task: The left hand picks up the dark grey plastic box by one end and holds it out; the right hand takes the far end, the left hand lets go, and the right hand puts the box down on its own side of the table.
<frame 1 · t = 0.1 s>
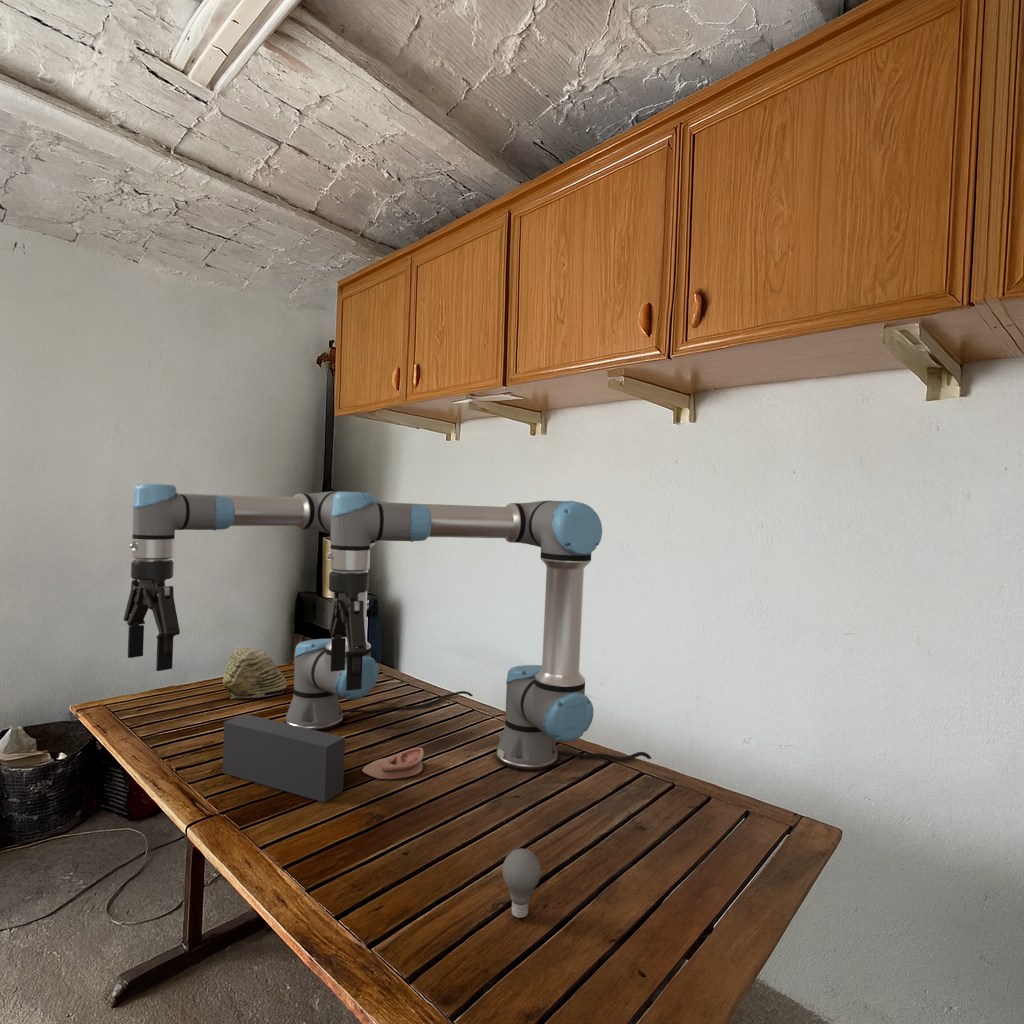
left hand: (149, 663, 129), 28 cm above the table, tool pointing down, fingers open, 13 cm apart
right hand: (345, 679, 124), 28 cm above the table, tool pointing down, fingers open, 13 cm apart
box: (281, 781, 140), on the table
fossil: (254, 694, 198), on the table
light bulb: (519, 916, 98), on the table
anatomical model: (393, 770, 148), on the table
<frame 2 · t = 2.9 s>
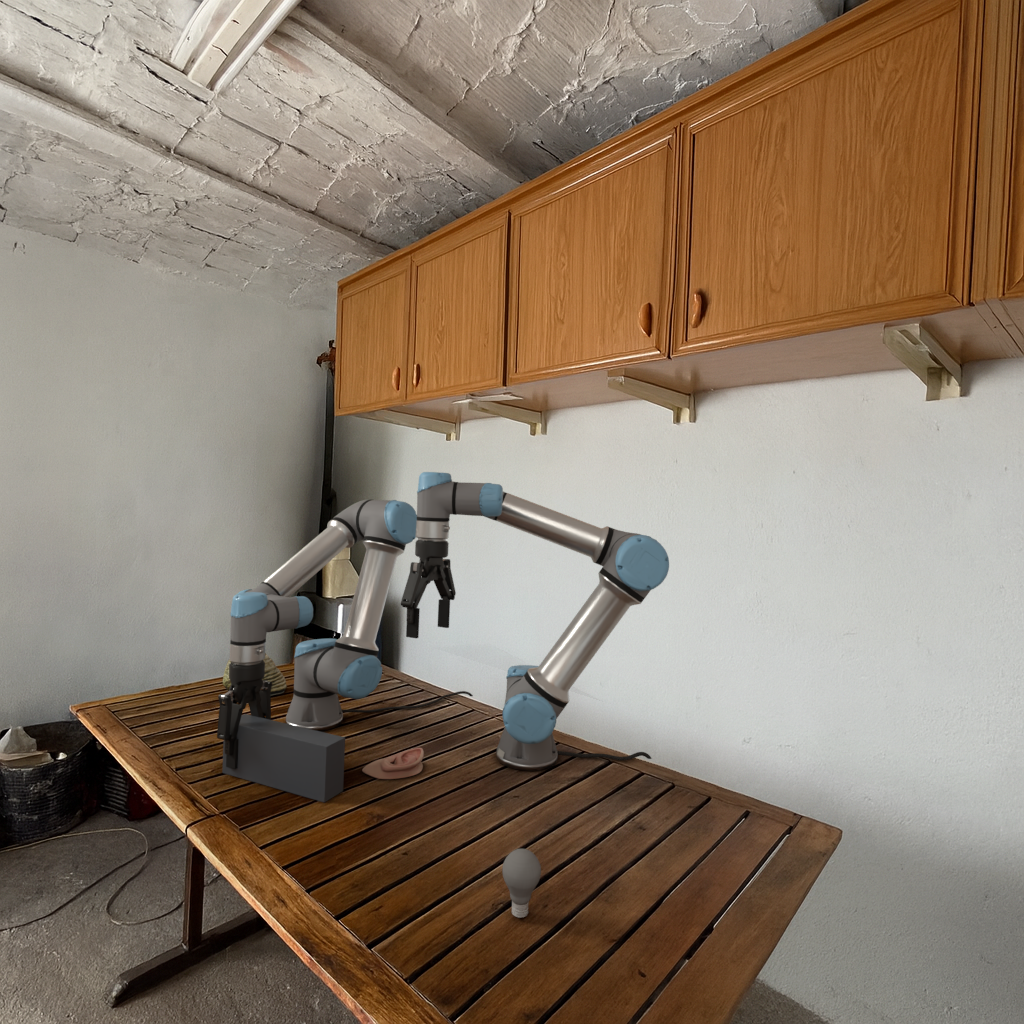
left hand: (243, 761, 144), 2 cm above the table, tool pointing down, fingers closed on box, 6 cm apart
right hand: (428, 632, 145), 33 cm above the table, tool pointing down, fingers open, 13 cm apart
box: (281, 781, 140), on the table, touching left hand
everything else where it was.
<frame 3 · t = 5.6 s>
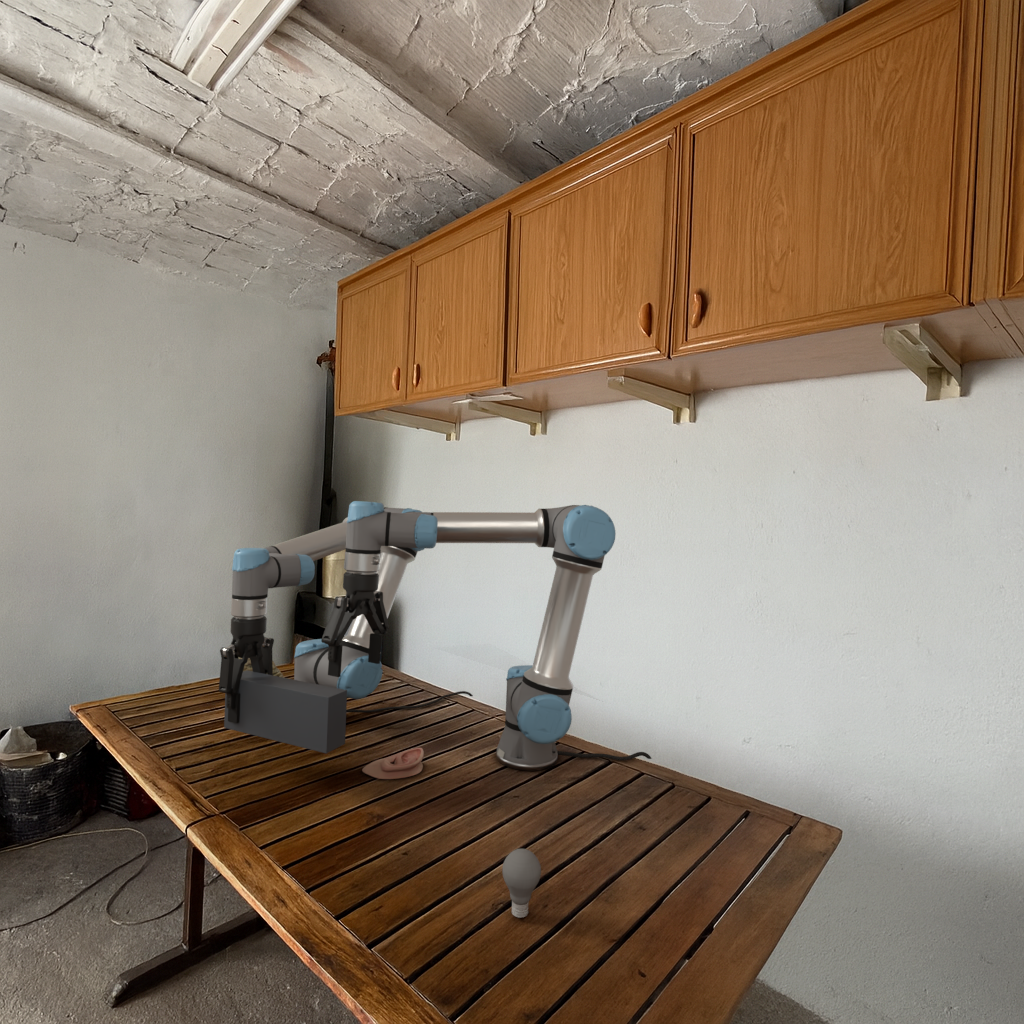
left hand: (245, 717, 144), 12 cm above the table, tool pointing down, fingers closed on box, 6 cm apart
right hand: (354, 669, 138), 26 cm above the table, tool pointing down, fingers open, 13 cm apart
box: (283, 735, 140), point 10 cm above the table, touching left hand
everything else where it was.
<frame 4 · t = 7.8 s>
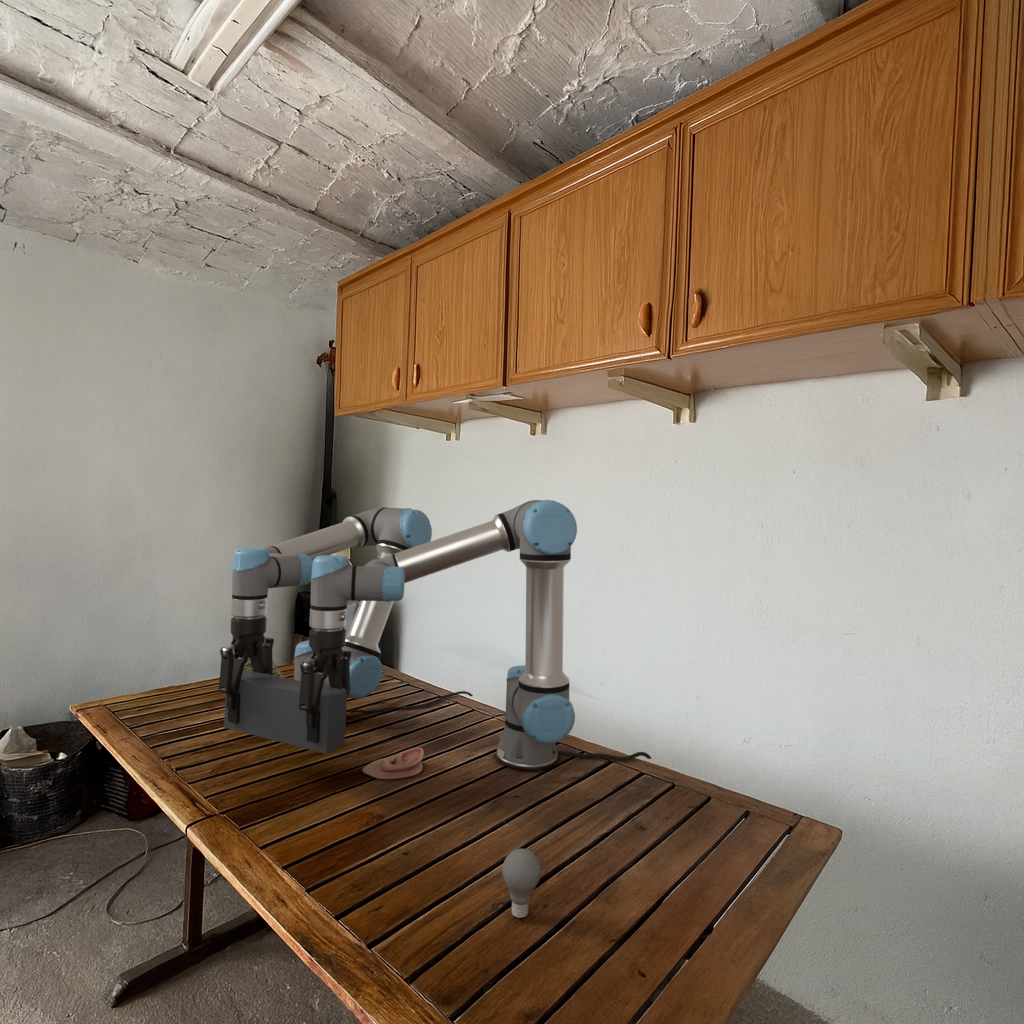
left hand: (245, 717, 144), 12 cm above the table, tool pointing down, fingers closed on box, 6 cm apart
right hand: (323, 735, 135), 12 cm above the table, tool pointing down, fingers closed on box, 6 cm apart
box: (283, 735, 140), point 10 cm above the table, touching left hand, right hand
everything else where it was.
when the left hand's fingers open (12 cm above the table, at t = 8.6 s): box stays where it is, held by the right hand.
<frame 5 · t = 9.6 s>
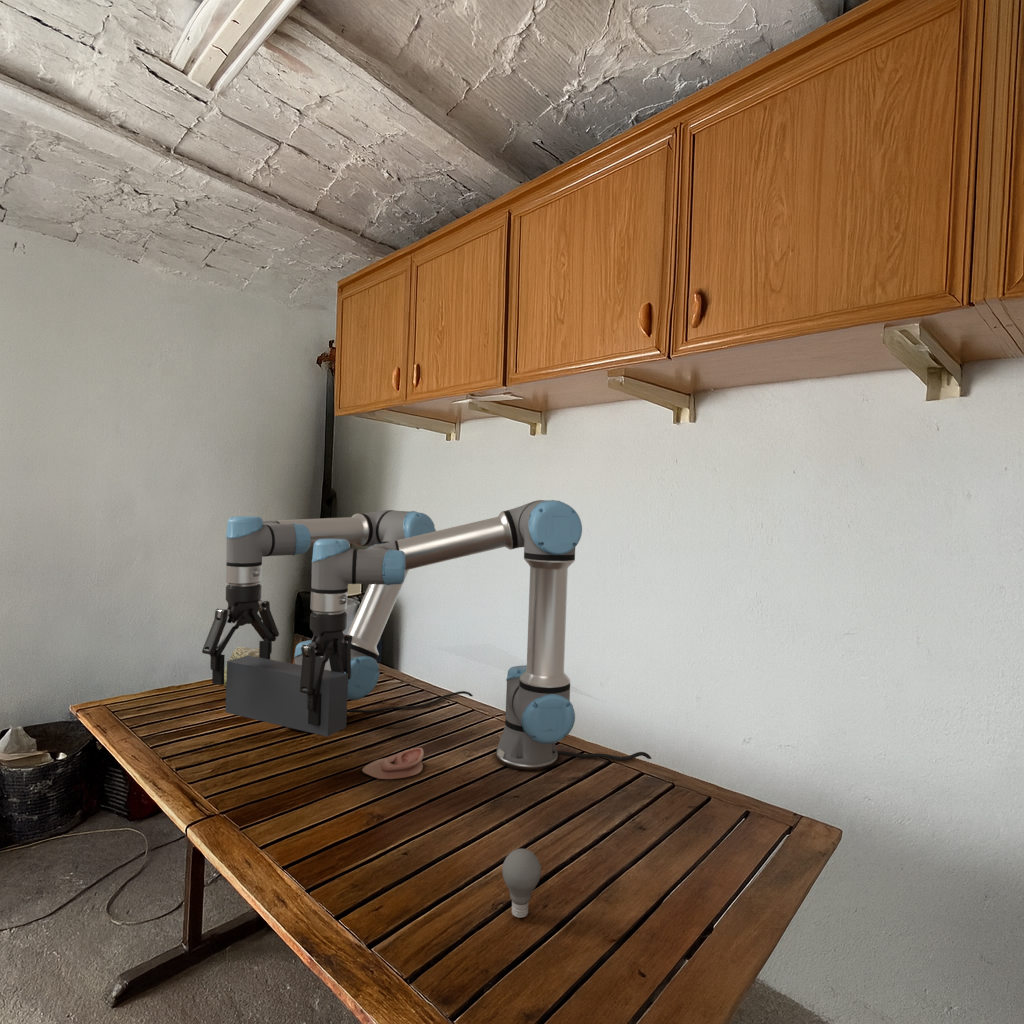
left hand: (242, 676, 145), 21 cm above the table, tool pointing down, fingers open, 13 cm apart
right hand: (325, 719, 135), 16 cm above the table, tool pointing down, fingers closed on box, 6 cm apart
box: (284, 719, 140), point 14 cm above the table, touching right hand
everything else where it was.
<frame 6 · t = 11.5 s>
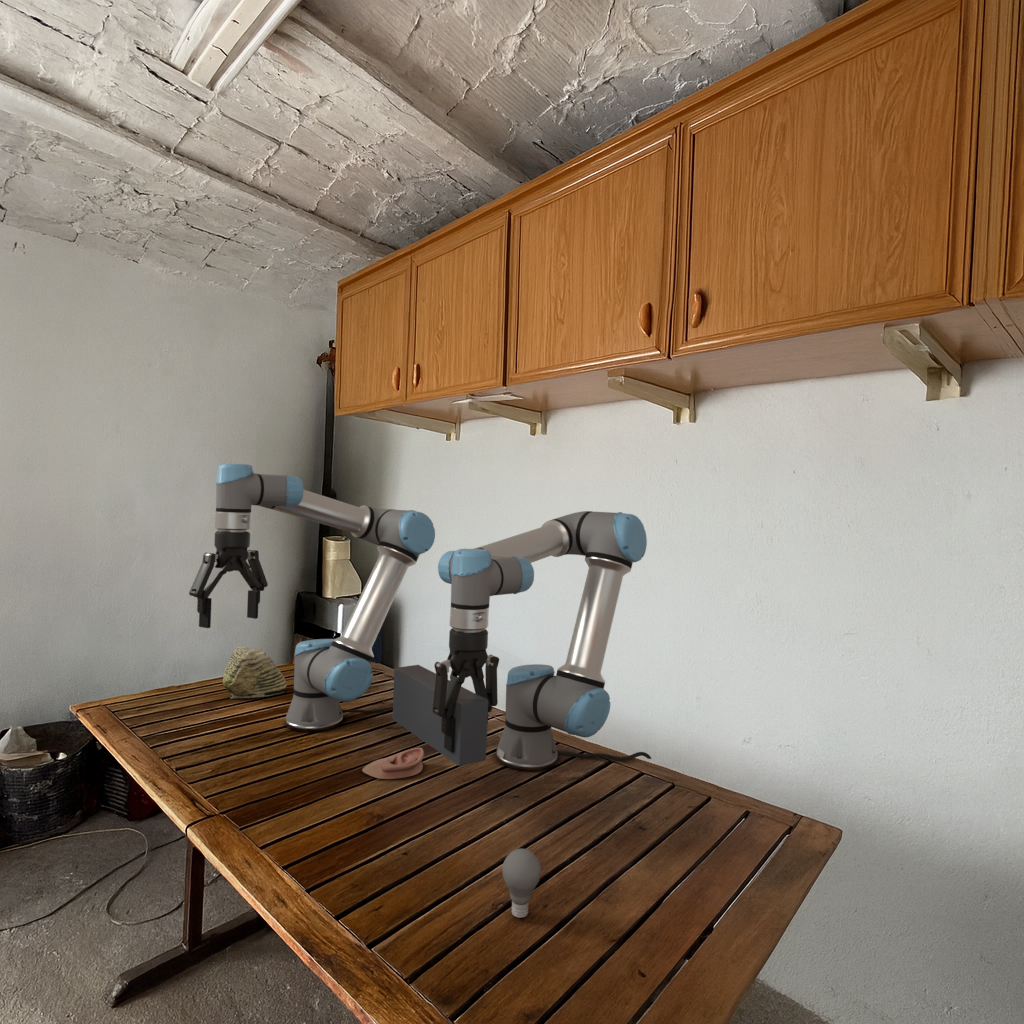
left hand: (229, 622, 146), 33 cm above the table, tool pointing down, fingers open, 13 cm apart
right hand: (464, 746, 124), 16 cm above the table, tool pointing down, fingers closed on box, 6 cm apart
box: (435, 738, 133), point 14 cm above the table, touching right hand
everything else where it was.
when the right hand's fingers open (3 cm above the table, at t = 15.2 s): box drops 1 cm, on the table.
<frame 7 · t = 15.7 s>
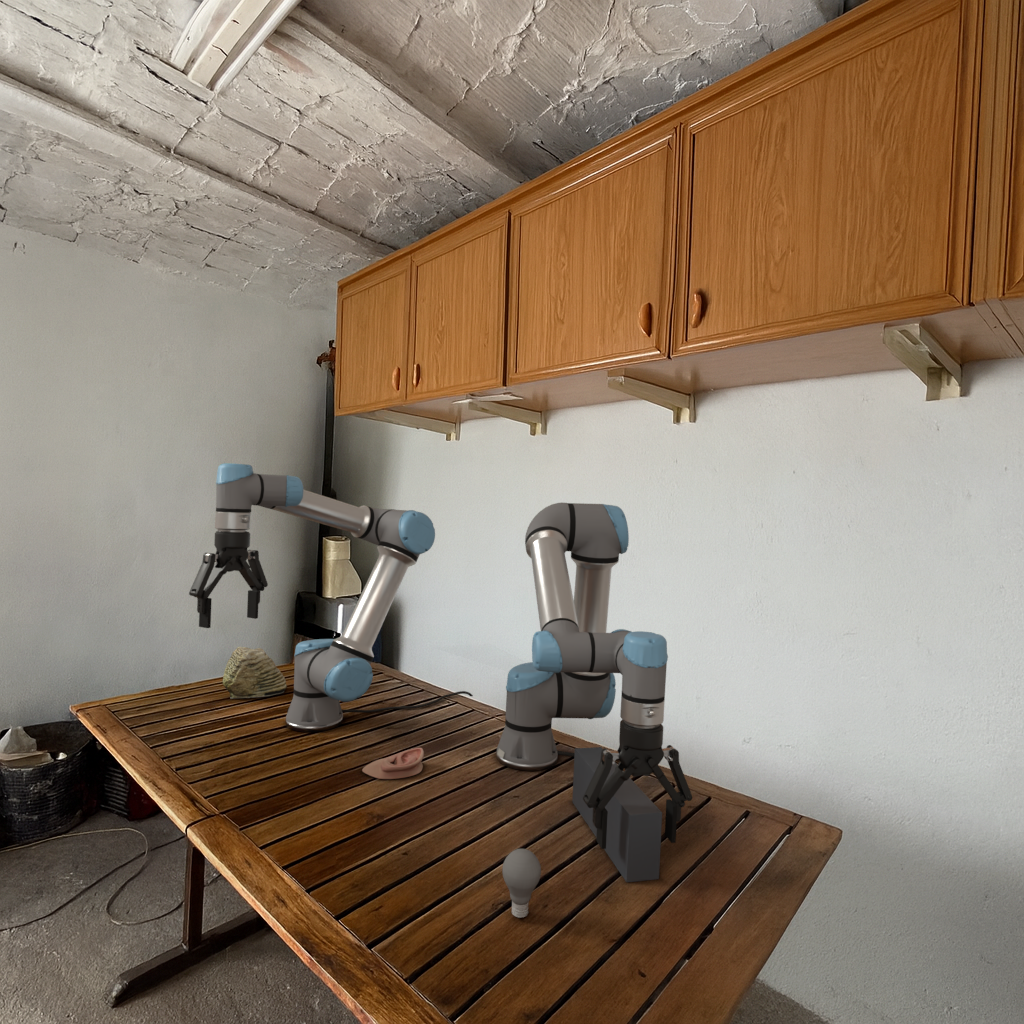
left hand: (229, 622, 146), 33 cm above the table, tool pointing down, fingers open, 13 cm apart
right hand: (635, 841, 112), 5 cm above the table, tool pointing down, fingers open, 12 cm apart
box: (610, 836, 123), on the table
everything else where it was.
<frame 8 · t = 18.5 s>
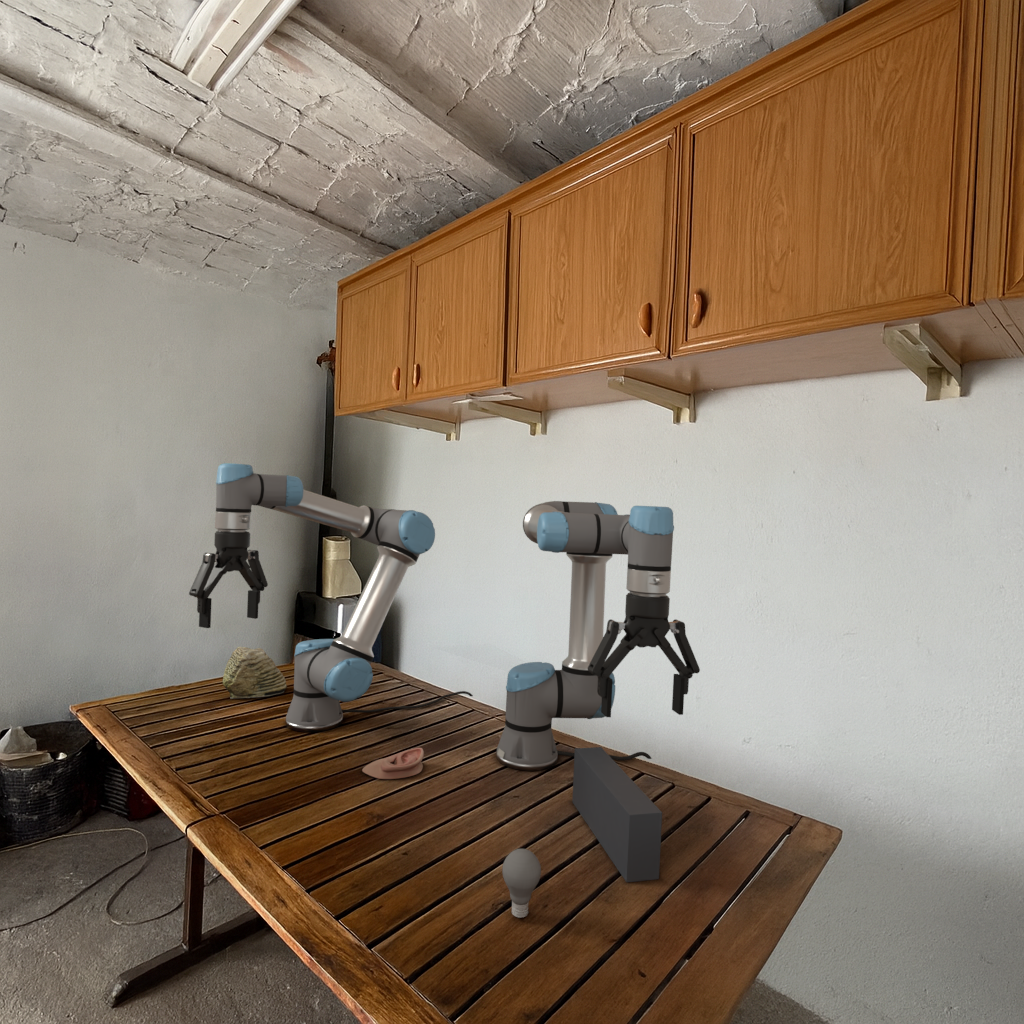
left hand: (229, 622, 146), 33 cm above the table, tool pointing down, fingers open, 13 cm apart
right hand: (642, 713, 112), 28 cm above the table, tool pointing down, fingers open, 13 cm apart
nothing on the table moved.
at the end: box inside the target area (11.0 cm from its centre), on the table; the left hand is holding nothing; the right hand is holding nothing; box at rest at the end (0.0 cm/s) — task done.
